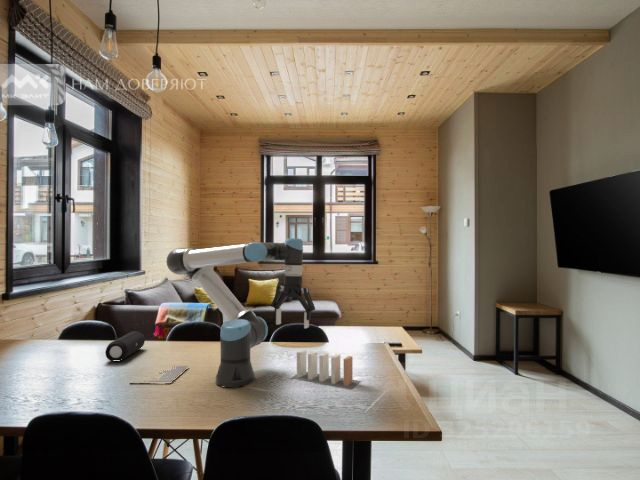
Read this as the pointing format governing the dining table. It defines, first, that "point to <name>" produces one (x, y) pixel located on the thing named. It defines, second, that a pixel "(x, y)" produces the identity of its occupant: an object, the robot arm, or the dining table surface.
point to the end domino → (348, 371)
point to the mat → (327, 381)
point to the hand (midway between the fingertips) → (292, 326)
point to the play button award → (171, 376)
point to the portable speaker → (125, 346)
